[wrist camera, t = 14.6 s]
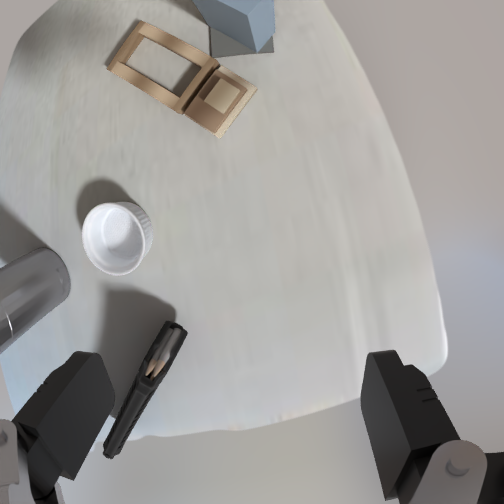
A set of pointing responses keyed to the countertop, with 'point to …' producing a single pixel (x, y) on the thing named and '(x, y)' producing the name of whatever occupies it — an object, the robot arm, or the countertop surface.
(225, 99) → the rack
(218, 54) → the pad
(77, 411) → the robot arm
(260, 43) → the blue-grey rectangular block
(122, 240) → the ramekin
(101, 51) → the countertop surface
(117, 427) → the magazine
